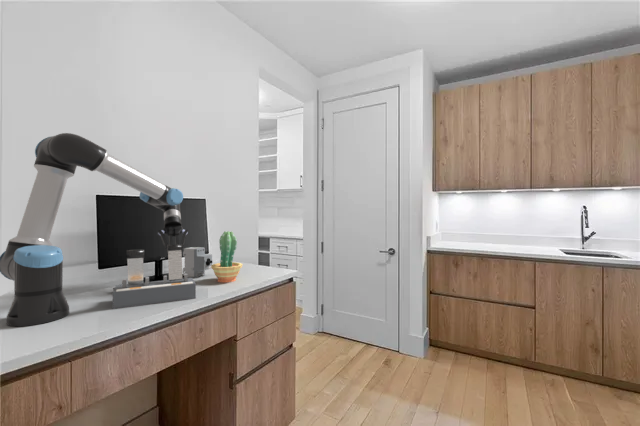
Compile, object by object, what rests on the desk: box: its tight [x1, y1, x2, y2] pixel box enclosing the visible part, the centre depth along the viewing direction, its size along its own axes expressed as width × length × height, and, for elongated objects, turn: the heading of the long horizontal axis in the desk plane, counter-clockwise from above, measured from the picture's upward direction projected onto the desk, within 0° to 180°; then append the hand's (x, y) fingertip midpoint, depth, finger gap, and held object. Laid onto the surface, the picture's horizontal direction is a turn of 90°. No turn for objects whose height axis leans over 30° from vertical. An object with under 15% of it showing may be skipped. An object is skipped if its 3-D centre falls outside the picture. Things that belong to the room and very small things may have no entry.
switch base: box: [112, 273, 197, 310], centre depth 122 cm, size 28×12×9 cm, turn 119°
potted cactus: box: [211, 230, 244, 283], centre depth 155 cm, size 15×15×25 cm
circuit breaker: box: [182, 246, 214, 278], centre depth 165 cm, size 8×14×15 cm, turn 78°
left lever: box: [125, 249, 145, 286], centre depth 115 cm, size 6×3×15 cm, turn 119°
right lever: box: [166, 243, 183, 281], centre depth 128 cm, size 6×3×15 cm, turn 119°
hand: (175, 260), depth 133 cm, fingers closed
